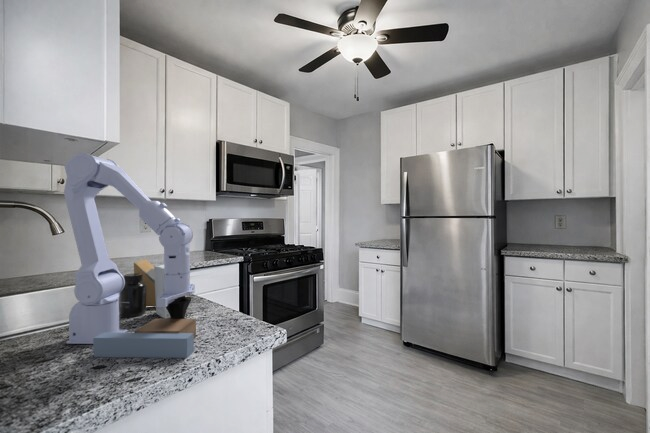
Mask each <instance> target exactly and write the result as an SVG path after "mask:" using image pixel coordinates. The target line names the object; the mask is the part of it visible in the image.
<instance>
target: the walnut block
mask: <svg viewBox="0 0 650 433" xmlns="http://www.w3.org/2000/svg"><path fill="white" fill-rule="evenodd" d="M196 322H197V318H185V319H171V318H167V319H164V318H154V319H152V320H150V321H149V322H147V323H145V324H143V325H141V326H140V327H139V328H136V329H135V330H134V332H133V333H194V339H196V338H197V323H196Z"/></svg>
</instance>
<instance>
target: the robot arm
mask: <svg viewBox="0 0 650 433" xmlns="http://www.w3.org/2000/svg"><path fill="white" fill-rule="evenodd" d="M64 169H65V174H66V179H65V185H64V189H63V190H64V191H63V193H64V194H63V196H64V199H65V204H66V207H67V211H68V216H69V219H70V223H71V226H72V227H71V228H72V232H73V234H74V240H75V244H76V248H77V252H78V255H79V256H78V257H79V260H80V263H81V266H80V267H79V268H78V270H77V271H76V272H75V274H74V279H75V285H74V289H73V290H74V291H73V293H74V297H75V298H76V300H77V301H78V302H77V303H75V304H74V305H73V306H72V307H71V309H70V312H69V315H68V316H69V317H68V319H69V320H68V322H69V323H68V336H69V338H68V339H69V340H67V341H66V344H70V345H71V344H73V345H74V344H75V345H76V344H77V345H80V344H81V345H83V344H84V345H85V344H86V345H93V338H94V337H96V336H98V335H100V334H102V333H128V331H129V330H128V329H121V328H120V292H121V291H122V290H123V288H124V286H125V280H124V275H122V273H121V272H120V270H119V268H118V265H117V264H116V263H115V262H114V261H112V260H111V259H110V256H109V252H108V249H107V245H106V241H105V240H106V239H105V237H104V232H103V229H102V225H101V220H100V216H99V213H98V209H97V208H98V207H97V205H96V201H95V198H96V197H97V196H98V194H99V193H100V192H102V191H103V190H104V189H106V188H107V187H109V186H110V187H113V188H114V189H115V190H117V191H118V193H120V194H121V195H122V196H123V197H124V198H126V199H127V200H128V201H129V202H130V203H132V204H133V205H134V206H135V207H136V208H137V209H138V217H139V218H140V219H141V220H142V221H143V222H144V223H145V224H146V225H147V226H148V227H149V228H150V229H151V230H152V231H153V232H154V233H155V234H157V236H158V241H159V243H160V244H161V246H162V247H163V265H164V292H163V294H162V295H161V296H160V297H159V298H157V307H166V309H167V310H168V312H169V314H170V317H171V318H170V319H186V318H185V317H186V313H187V310H188V308H189V305H190V303H191V302H192V297H191V296H188V295H193V294H195V292H196V290H195V287H196V286H195V283H191V262H190V260H191V259H190V258H191V257H190V256H191V253H190V249H191V248H190V243H191V242H192V241H193V238H194V234H193V230H192V229H191V227H190V225H189V224H187V223H184V222H181V219H180V218H179V217H176V216H175V215H174V214H173V213H172V212H171V211H169V209H167V208H168V205H167V204H166V203H165V202H160V201H159V200H151V199H150V198H149V197H148V196H147V194H146V193H145V192H144V191H143V190H142V189H141V188H140V186H138V185H137V184H136V183H135V181H134V180H133V179H132V178H131V177H130V176H129V175H128V174H127V173H126V170H124V168H123V167H121V166H119V164H118V163H117V162H116V161H114V160H112V159H108V158H102V157H99V156H96V155H95V156H94V155H92V154H90V153H86V152H78V153H75V154H74V155H73V156H72V157H70V159H69V160H68V161H67V162H66V164H64ZM185 295H186V296H187V297H185Z"/></svg>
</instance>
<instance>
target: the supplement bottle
mask: <svg viewBox="0 0 650 433" xmlns="http://www.w3.org/2000/svg"><path fill="white" fill-rule="evenodd" d="M123 277H124V280H125V286H124V288H123V290H122V291H121V292H120V297H119V317H121V318H134V317H135V316H136V317H139V315H140V316H142V314H143V315H145V313H146V312H147V308H146V284H145V283H144V282H142V280H143V274H141V273H134V272H133V273H128V274H127V273H126V274H124V275H123ZM136 317H135V318H136Z"/></svg>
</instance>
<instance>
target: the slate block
mask: <svg viewBox="0 0 650 433" xmlns="http://www.w3.org/2000/svg"><path fill="white" fill-rule="evenodd" d="M92 345H93V357H94V358H160V359H161V358H165V359H167V358H168V359H169V358H174V359H175V358H178V359H179V358H183V359H185V358H186V359H187V358H188V357H190V356H191V355H192V354H193V353H194V350H195V348H194V347H195V338H194V333H134V332H126V333H102V334H100V335H98V336H96V337H94V338H93V344H92Z"/></svg>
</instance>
